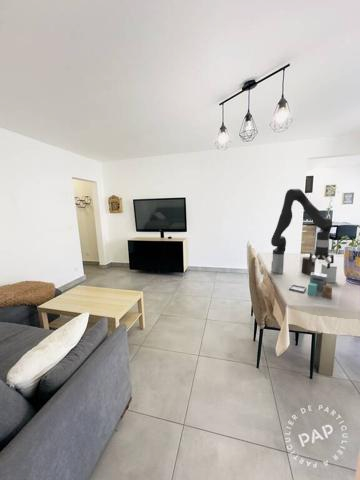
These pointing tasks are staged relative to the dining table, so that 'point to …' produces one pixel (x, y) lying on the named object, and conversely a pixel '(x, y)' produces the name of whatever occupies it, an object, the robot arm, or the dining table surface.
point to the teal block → (312, 289)
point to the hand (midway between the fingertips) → (320, 267)
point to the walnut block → (327, 291)
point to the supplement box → (329, 272)
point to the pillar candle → (307, 266)
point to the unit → (318, 280)
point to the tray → (297, 288)
